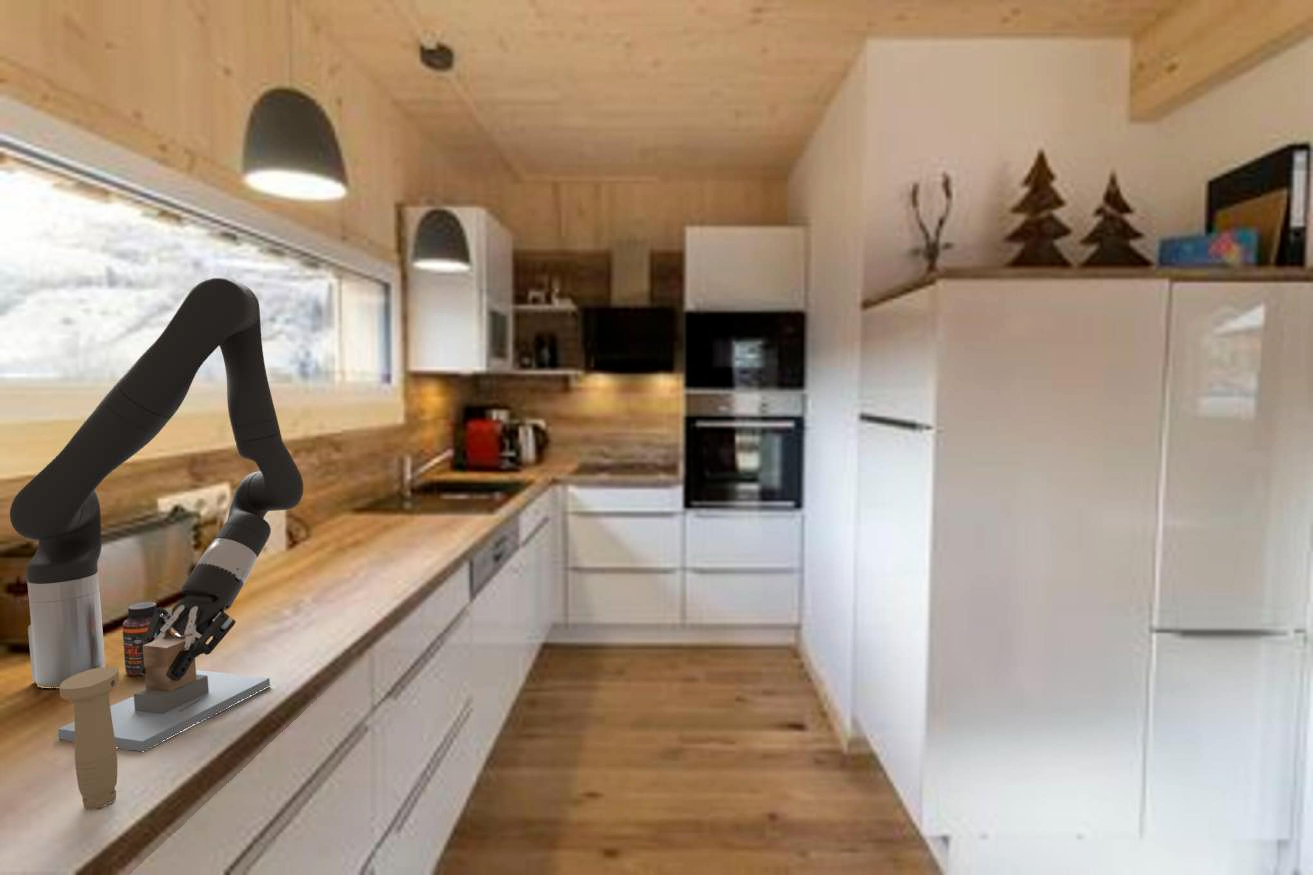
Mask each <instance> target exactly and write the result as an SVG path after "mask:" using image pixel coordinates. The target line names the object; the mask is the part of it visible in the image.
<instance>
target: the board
mask: <svg viewBox="0 0 1313 875" xmlns="http://www.w3.org/2000/svg"><path fill="white" fill-rule="evenodd" d="M196 674H197V675H206V676H208V688H209V692H207V693H205V694H203V695H201V696H199V697H196V698H194V699H192V700H190V701H188V702H186V703H184V704H182V705H180V706H178V707H175V708H173V709H171V710H169V711H167V712H165V713H163V714H159V713H151V712H143V711H136V710H135V705H134V695H133V696H131V697H129V698H126V699H124V700H122V701H119V702H116V703H114V704H112V705H110V709H111V716H112V723H113V729H114V736H115V742H116V747H118V748H117V749H119V748H122V749H121V750H125V749H129V750H128V751H132V750H137V751H136V752H138V751H145V750H147V749H149V750H151V749H150V747H153V746H154V745H156V744H158V743H160V742H162V741H163V740H166V739H167V738H169V737H171V736H173V735H175V734H177V733H179V732H180V731H183V730H184V729H186V728H188V727H190V726H192V725H193V724H196V723H197V722H201V721H202V720H204V719H207V718H208V717H211V716H213V715H215V714H216V713H219V712H220V711H222V710H224V709H226V708H228V707H229V706H231V705H233V704H235V703H237V702H238V701H241V700H242V699H245V698H247V697H249V696H250V695H253V694H255V693H256V692H259V691H260V690H263V689H264V688H266V687H268V686H270V687H271V682H270V679H271V678H270V677H264V676H263V677H262V676H254V675H246V674H237V673H228V672H219V671H210V670H209V671H208V670H199V669H196ZM219 714H220V713H219ZM215 716H216V715H215ZM213 717H214V716H213ZM211 718H212V717H211ZM207 720H208V719H207ZM201 723H202V722H201ZM57 730H58V739H59V740H60V739H63V740H62V741H66V740H68V741H69V742H74V743H75V721H73V722H71V723H69V724H66V725H64V726H62V727H59V728H58V729H57ZM68 741H67V742H68ZM166 741H167V740H166ZM162 743H163V742H162ZM153 748H154V747H153ZM147 751H148V750H147ZM145 752H146V751H145Z"/></svg>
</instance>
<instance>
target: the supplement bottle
mask: <svg viewBox="0 0 1313 875" xmlns="http://www.w3.org/2000/svg"><path fill="white" fill-rule="evenodd" d="M157 608H158V607H157V602H153V601H149V602H148V601H145V602H139V603H135V604H132V605H130V606H128V608H127V609H128V610H127V611H128V613H127V614H128V616H127V618H126V619H125V620H124V621H122V622H123V623H122V642H123V655H124V667H125V673H126V675H130V676H133V677H135V676H136V677H138V676H140V677H141V676H143V675H142V674H140V673H139V669H140V665H141V664H142V662H143V661H144V657H143V645H145V644H147V643H145V642H144V638H145V635H146V633H147V630H148V627H149V625H150V622H151V620H152V617H153V615H154V612H155V610H156V609H157ZM156 636H157V634H156V633H155V636H154V638H156Z"/></svg>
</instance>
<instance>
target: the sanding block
mask: <svg viewBox="0 0 1313 875" xmlns="http://www.w3.org/2000/svg"><path fill="white" fill-rule="evenodd" d="M185 638H186V637H182V636H169V637H166V638H163V639H159V640H156V641H153V642H151V643H148V644H145V645H143V657H144V667H145V676H144V680H145V688H143V689H141V690H139V691H137V692H133V696H134V705H135V710H136V711H143V712H151V713H159V714H163V713H165V712H167V711H169V710H171V709H173V708H175V707H178V706H180V705H182V704H184V703H186V702H188V701H190V700H192V699H194V698H196V697H199V696H201V695H203V694H205V693H207V692H209V688H208V676H206V675H197V674H196V670H197V669H196V668H197V667H196V658H194V660H193V661H192V663H191V665H190V667H189V668H188V670H187V672H186V673H185V675H184V676H183V677H182V678H181V679H180V680H179V681H174V680H172V679H170V678H169V677H167V676H166V673H167V671H168V670H169V668H170V666H171V665H172V663H173V661H174V660H175V658H176V656H177V655H178V653H179V651H183V650H182V647H183V644H184V642H185ZM193 643H194V642H193Z"/></svg>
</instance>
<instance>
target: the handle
mask: <svg viewBox="0 0 1313 875" xmlns="http://www.w3.org/2000/svg"><path fill="white" fill-rule="evenodd" d="M119 680H120V672H119V667H115V666H109V667H108V666H107V667H106V666H105V667H103V668H95V669H90V670H87V671H84V672H81V673H78V674H76V675H73V676H71V677H70V678H68V679H66V680H65V681H63V682H62V683H61V684H60V687H59V688H58V690H59V697H60V698H61V699H63V700H65V701H71V702H72V703H73V710H74V714H73V715H74V722H75V742H74V763H75V774H76V780H77V786H78V789H79V793H80V795H81V797H82V804H83V807H84V810H87V811H90V810H95V809H94V808H96V810H98V809H97V808H100V809H102V808H103V807H105V806H106V805H105V804H107V805H109V804H108V803H110V802H113V801H116V797H117V790H116V786H117V784H118V783H117V782H118V753H117V752H118V751H117V748H116V742H115V736H114V729H113V723H112V716H111V709H110V706H111V704H110V693H111V692H112V691H113V690H115V688H116V687H117V686H118V683H119ZM113 803H114V802H113ZM110 804H111V803H110ZM104 805H105V806H104ZM102 806H103V807H102ZM101 807H102V808H101Z"/></svg>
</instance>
